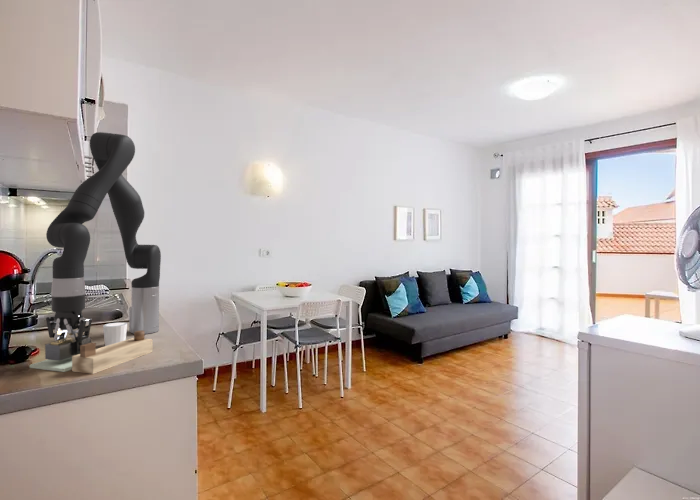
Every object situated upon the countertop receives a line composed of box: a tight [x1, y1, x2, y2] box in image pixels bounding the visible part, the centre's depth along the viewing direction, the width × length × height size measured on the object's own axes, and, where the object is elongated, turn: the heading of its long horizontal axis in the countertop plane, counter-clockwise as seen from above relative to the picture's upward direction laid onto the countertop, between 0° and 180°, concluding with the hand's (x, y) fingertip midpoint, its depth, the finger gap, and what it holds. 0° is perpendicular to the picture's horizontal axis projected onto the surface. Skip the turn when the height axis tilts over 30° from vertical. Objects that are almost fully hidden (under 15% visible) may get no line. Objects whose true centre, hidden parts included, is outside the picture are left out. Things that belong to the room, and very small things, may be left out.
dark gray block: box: [44, 336, 92, 361], centre depth 104 cm, size 5×9×5 cm, turn 166°
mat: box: [29, 357, 72, 373], centre depth 104 cm, size 12×12×1 cm
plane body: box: [71, 331, 154, 375], centre depth 106 cm, size 7×20×7 cm, turn 166°
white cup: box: [102, 321, 128, 347], centre depth 122 cm, size 7×7×7 cm
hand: (68, 353), depth 104 cm, fingers closed on dark gray block, 5 cm apart
